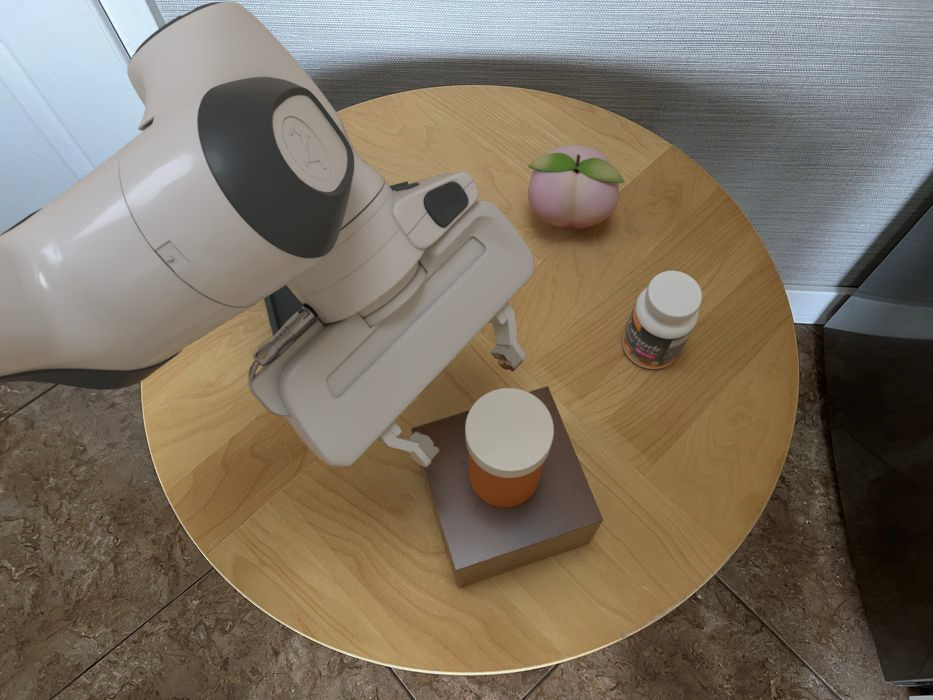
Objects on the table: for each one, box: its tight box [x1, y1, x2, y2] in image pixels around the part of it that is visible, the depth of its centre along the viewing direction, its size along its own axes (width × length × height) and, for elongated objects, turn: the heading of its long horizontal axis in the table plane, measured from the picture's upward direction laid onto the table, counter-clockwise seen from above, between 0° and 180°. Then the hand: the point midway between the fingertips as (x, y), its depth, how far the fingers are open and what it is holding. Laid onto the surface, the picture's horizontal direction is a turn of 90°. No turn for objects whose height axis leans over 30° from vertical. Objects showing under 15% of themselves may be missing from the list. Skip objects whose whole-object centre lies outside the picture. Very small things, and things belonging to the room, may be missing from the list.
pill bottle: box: [621, 270, 703, 370], centre depth 69 cm, size 6×6×10 cm
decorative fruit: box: [527, 144, 625, 229], centre depth 76 cm, size 9×8×10 cm
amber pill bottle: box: [465, 387, 554, 508], centre depth 55 cm, size 6×6×10 cm
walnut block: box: [410, 385, 604, 589], centre depth 63 cm, size 12×12×8 cm
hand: (473, 409), depth 53 cm, fingers open, 8 cm apart
